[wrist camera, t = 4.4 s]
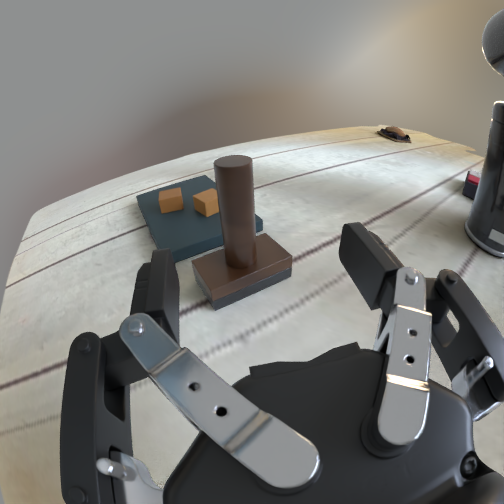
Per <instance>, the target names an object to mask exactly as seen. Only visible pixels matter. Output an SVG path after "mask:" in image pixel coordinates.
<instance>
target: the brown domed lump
mask: <svg viewBox="0 0 504 504" xmlns="http://www.w3.org/2000/svg"><path fill="white" fill-rule="evenodd" d="M377 132H378V133H379V134H381V135H383V136H385V137H387V138H389V139H392V140H393V141H396V142H406V143H407V142H410V143H411V141H410V139H408V138H410V137H409V136H408V135H405V134H404V132H403V131H402V130H401V129H399V128H397V127H386V130H385V129H381V130H380V131H377Z"/></svg>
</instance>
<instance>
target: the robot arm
mask: <svg viewBox="0 0 504 504" xmlns="http://www.w3.org/2000/svg"><path fill="white" fill-rule="evenodd" d="M482 48H483V53H484V55H485V58H486V60H487V62H488V63H489V64H490V66H491V67H492V68H493V69H494V70H495V71H497V72H498V73H499V74H501V75H502V76H504V9H502V10H501V11H499V12H498V13H496V14H495V15H494V16H493V17H492V18H491V19H490V20H489V21H488V23H487V25H486V26H485V29H484V31H483V37H482ZM492 119H493V120H491V126H490V133H489V139H488V145H487V150H486V155H485V160H484V164H483V168H482V173H481V177H480V180H479V184H478V188H477V191H476V195H475V198H474V201H473V204H472V208H471V211H470V214H469V217H468V219H467V221H466V223H465V230H466V232H467V234H468V236H469V237H470V238H471V239H472V240H473V241H474V242H475V243H476V244H477V245H478V246H479V247H481V248H482V249H484V250H485V251H487V252H489V253H491V254H493V255H495V256H498V257H504V102H502V101H499V102H495V103H494V106H493V110H492ZM339 258H340V261H341V263H342V264H343V266H344V268H345V269H346V271H347V272H348V274H349V275H350V277H351V278H352V280H353V282H354V283H355V285H356V286H357V288H358V290H359V291H360V293H361V294H362V296H363V298H364V299H365V301H366V302H367V304H368V306H369V307H370V309H371V310H375V309H378V308H381V310H382V312H381V314H380V319H379V324H378V329H377V334H376V338H375V343H374V347H373V350H370V349H360V347H359V345H358V343H357V342H354V343H351V344H347V345H344V346H340V347H337V348H333V349H331V350H329V351H328V352H326V353H324V354H322V355H320V356H318V357H316V358H314V359H313V360H311V361H307V362H273V363H268V364H263V365H258V366H252V367H249V369H250V375H248V376H246V377H244V378H242V379H240V380H238V381H237V382H236V383H234V384H233V385H232V386H230V385H229V384H228V383H226V382H225V381H224V380H223V379H222V378H221V377H219V376H218V375H217V374H216V373H215V372H214V371H212V370H211V369H210V368H209V367H208V366H207V365H206V364H205V363H203V362H202V361H201V360H200V359H199V358H198V357H197V356H196V355H195V354H194V353H192V352H191V351H190V350H189V349H188V348H186V347H184V348H181V347H180V343H179V291H180V287H179V278H178V274H177V270H176V267H175V263H174V260H173V256H172V252H171V250H170V248H166V249H159V250H154V251H153V253H152V259H151V262H150V263H144V264H143V265H142V266H141V268H140V269H139V271H138V273H137V278H136V283H135V290H134V293H133V299H132V305H131V311H130V316H129V317H127V318H126V319H125V320H124V321H123V322H122V323H121V325H120V328H119V331H117V332H115V333H113V334H110V335H108V336H105V337H103V338H99V337H98V336H97V335H96V334H95V333H93V332H85V333H82V334H80V335H79V336H77V337H76V338H75V339H74V340H73V342H72V344H71V346H70V351H69V357H68V362H67V369H66V375H65V383H64V391H63V400H62V411H61V426H60V476H61V490H62V496H63V499H64V501H65V503H66V504H504V477H503V476H502V475H500V474H499V473H497V472H496V471H494V470H492V469H491V468H489V467H488V466H487V465H485V464H484V463H483V462H482V461H481V460H480V459H479V458H478V456H477V454H476V452H475V448H474V441H473V422H474V421H479V420H481V419H482V418H483V417H485V416H486V415H488V414H489V413H491V412H492V411H493V410H495V409H496V408H497V407H499V406H500V405H501V404H503V403H504V338H503V336H502V335H501V333H500V331H499V330H498V328H497V327H496V325H495V324H494V322H493V321H492V319H491V318H490V316H489V315H488V313H487V312H486V310H485V309H484V308H483V306H482V305H481V303H480V302H479V301H478V299H477V298H476V297H475V295H474V294H473V293H472V291H471V290H470V289H469V287H468V286H467V285H466V283H465V282H464V281H463V280H462V278H461V277H460V276H459V275H458V274H457V273H456V272H454V271H452V270H448V269H443V270H441V271H440V272H439V274H438V276H437V278H425V277H424V276H423V274H422V273H421V272H420V271H418V270H417V269H414V268H412V267H404V266H403V264H402V263H401V262H400V261H399V260H398V258H397V257H396V256H395V255H394V254H393V252H392V251H391V250H389V248H388V247H387V246H386V244H384V242H383V241H382V240H381V239H380V238H379V237H378V236H377V235H375V234H374V233H372V232H371V231H367V229H366V228H365V227H364V226H363V225H362V224H361V223H360V222H356V223H348V224H344V226H343V229H342V235H341V241H340V247H339ZM449 310H451V311H452V313H453V314H454V316H455V317H456V319H457V320H458V322H459V331H458V333H457V332H456V330H455V329H454V327H453V325H452V324H451V322H450V321H449V319H448V318H447V316H446V315H447V313H448V312H449ZM431 343H432V345H433V347H434V349H435V351H436V352H437V354H438V356H439V358H440V360H441V362H442V364H443V366H444V368H445V370H446V372H447V374H448V376H449V378H450V380H451V382H452V384H451V387H452V390H449V389H448V388H446V387H444V386H442V385H440V384H438V383H437V382H435V381H433V380H431V379H429V378H428V377H429V367H430V354H431ZM147 377H149V378H150V379H151V380H152V382H153V383H154V384H155V385H156V386H157V388H158V389H159V390H160V391H161V392H162V393H163V394H164V395H165V397H166V398H167V399H168V400H169V401H170V402H171V403H172V404H173V405H174V406H175V408H176V409H177V410H178V411H179V412H180V413H181V414H182V415H183V416H184V417H185V418H186V419H187V420H188V421H189V422H190V423H191V424H192V425H193V426H194V427H195V428H196V429H197V430H198V431H199V434H198V435H197V437H196V438H195V440H194V441H193V443H192V444H191V446H190V447H189V449H188V450H187V452H186V453H185V455H184V456H183V458H182V459H181V461H180V462H179V464H178V465H177V466H176V468H175V469H174V471H173V472H172V474H171V475H170V477H169V478H168V480H167V481H166V483H165V486H164V489H162V488H160V487H159V486H157V485H156V484H155V483H154V481H153V480H152V478H151V476H150V472H149V470H148V468H147V467H146V465H145V464H144V463H143V462H141V461H140V460H138V459H136V458H134V457H133V448H132V436H131V419H130V384H131V383H134V382H137V381H139V380H142V379H145V378H147Z"/></svg>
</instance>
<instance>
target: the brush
mask: <svg viewBox="0 0 504 504" xmlns="http://www.w3.org/2000/svg"><path fill="white" fill-rule="evenodd" d="M214 171H215V180H216V189H217V197H218V206H219V214H220V222H221V229H222V237H223V245H224V249H221V250H218V251H216V252H213V253H210V254H208V255H205V256H203V257H200V258H197V259H195V260H192V261H191V262H192V266H193V271H194V275H195V279H196V281H197V283H198V285H199V286H200V288H201V290H202V291H203V293H204V294H205V296H206V298H207V299H208V301H209V302H210V304H211V305H212V307H213V309H214V310H215V311H216V310H218V309H220V308H223V307H225V306H227V305H229V304H232V303H234V302H236V301H238V300H241V299H243V298H245V297H247V296H249V295H252V294H254V293H256V292H258V291H260V290H263V289H265V288H267V287H269V286H271V285H273V284H276V283H278V282H280V281H282V280H284V279H286V278H288V277H291V271H292V255H291V254H289V253H288V252H287V251H286V250H285V249H284V248H282V247H281V246H280V245H279V244H278V243H277V242H276V241H274V240H273V239H272V238H271V237H270V236H268V235H267V234H266V233H264V234H261V235H259V236H256V225H255V204H254V183H253V163H252V158H250V157H248V156H243V155H231V156H225V157H221V158H219V159H217V160H215V161H214Z"/></svg>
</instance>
